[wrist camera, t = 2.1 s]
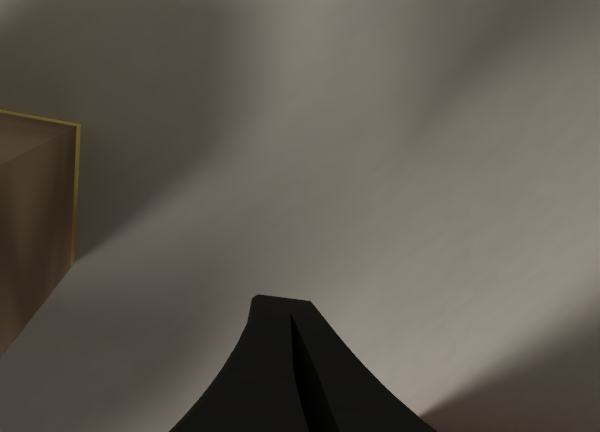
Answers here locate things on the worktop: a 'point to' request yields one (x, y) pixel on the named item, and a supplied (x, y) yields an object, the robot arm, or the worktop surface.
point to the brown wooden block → (35, 213)
